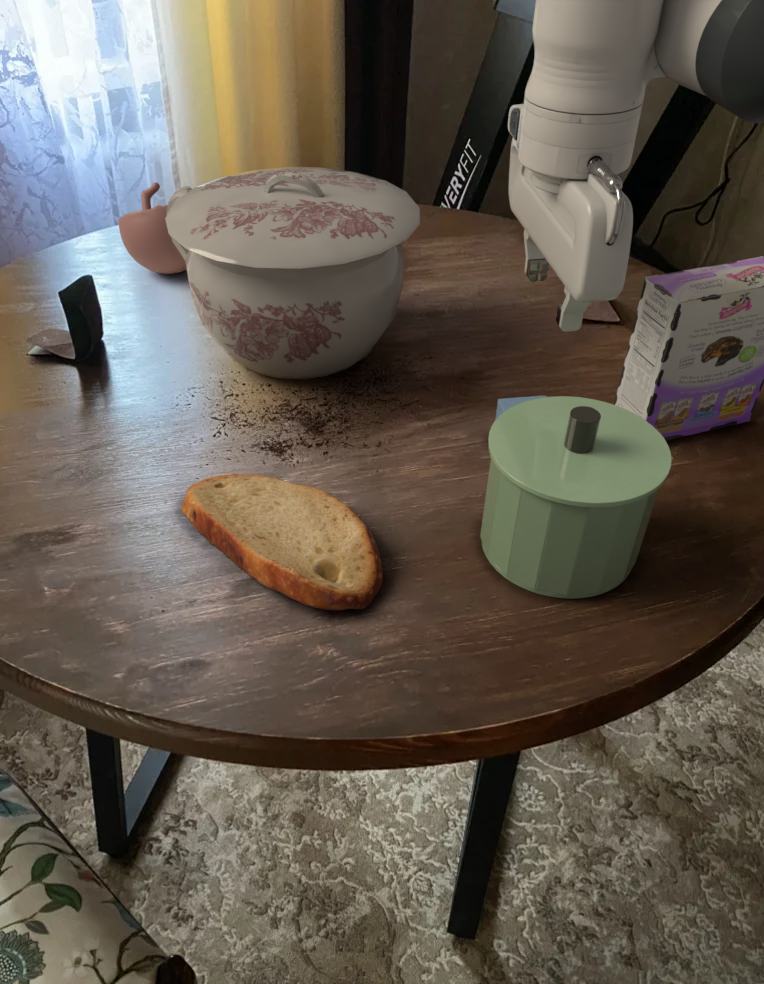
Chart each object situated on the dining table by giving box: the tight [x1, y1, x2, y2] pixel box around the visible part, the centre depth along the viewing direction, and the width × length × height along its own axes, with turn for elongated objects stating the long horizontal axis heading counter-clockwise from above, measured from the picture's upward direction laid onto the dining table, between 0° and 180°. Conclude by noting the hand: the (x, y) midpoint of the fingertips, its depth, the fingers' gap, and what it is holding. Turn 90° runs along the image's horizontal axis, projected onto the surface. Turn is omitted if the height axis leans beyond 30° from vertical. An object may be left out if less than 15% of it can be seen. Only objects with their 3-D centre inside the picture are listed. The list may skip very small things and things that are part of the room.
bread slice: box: [181, 473, 384, 611], centre depth 74 cm, size 18×18×4 cm
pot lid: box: [487, 395, 673, 508], centre depth 68 cm, size 15×15×4 cm
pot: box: [479, 457, 660, 600], centre depth 72 cm, size 14×14×10 cm
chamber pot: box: [165, 166, 421, 380], centre depth 95 cm, size 28×28×21 cm
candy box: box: [613, 255, 764, 442], centre depth 84 cm, size 14×6×16 cm, turn 108°
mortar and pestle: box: [118, 182, 187, 275], centre depth 114 cm, size 12×12×11 cm
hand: (550, 301), depth 75 cm, fingers open, 8 cm apart
